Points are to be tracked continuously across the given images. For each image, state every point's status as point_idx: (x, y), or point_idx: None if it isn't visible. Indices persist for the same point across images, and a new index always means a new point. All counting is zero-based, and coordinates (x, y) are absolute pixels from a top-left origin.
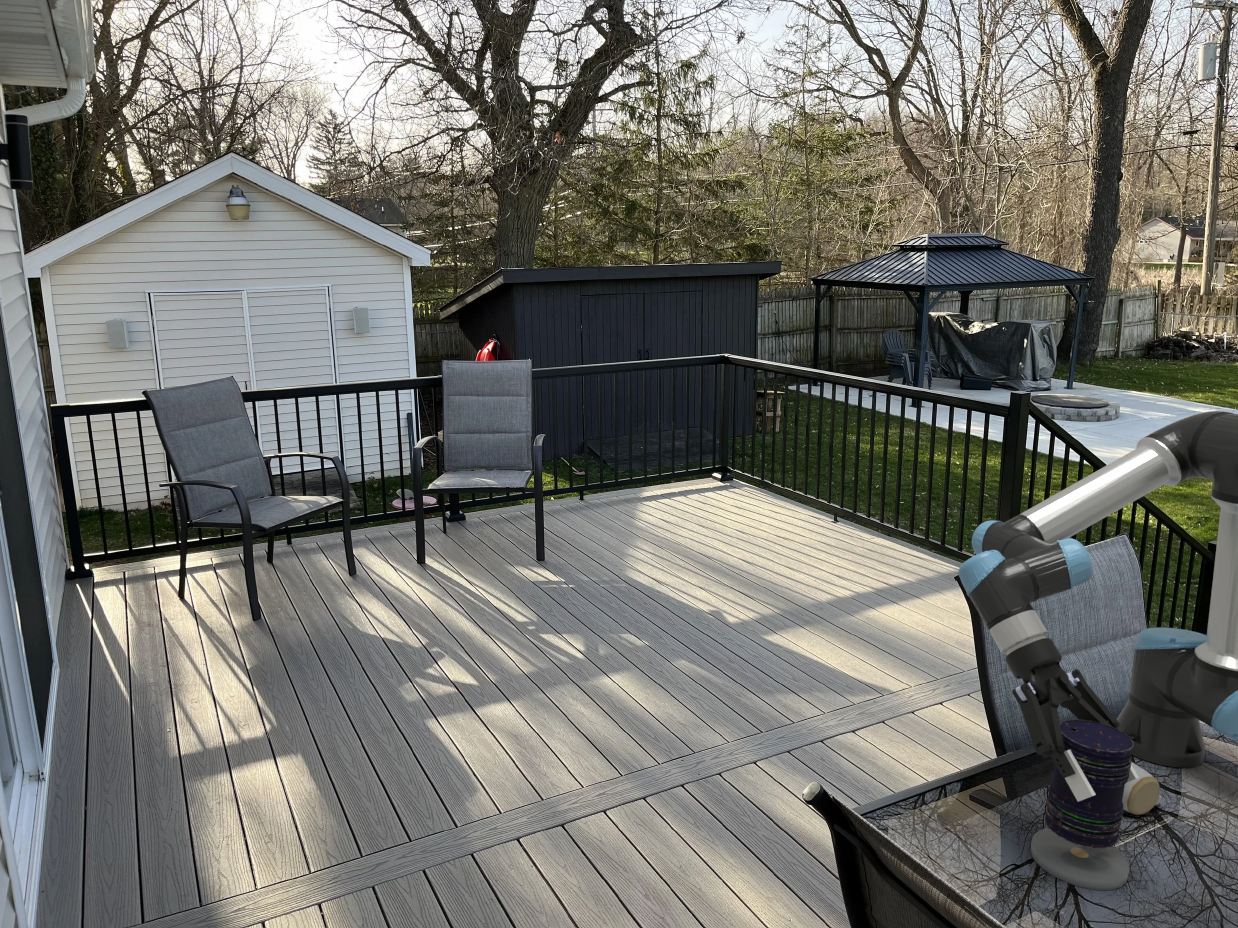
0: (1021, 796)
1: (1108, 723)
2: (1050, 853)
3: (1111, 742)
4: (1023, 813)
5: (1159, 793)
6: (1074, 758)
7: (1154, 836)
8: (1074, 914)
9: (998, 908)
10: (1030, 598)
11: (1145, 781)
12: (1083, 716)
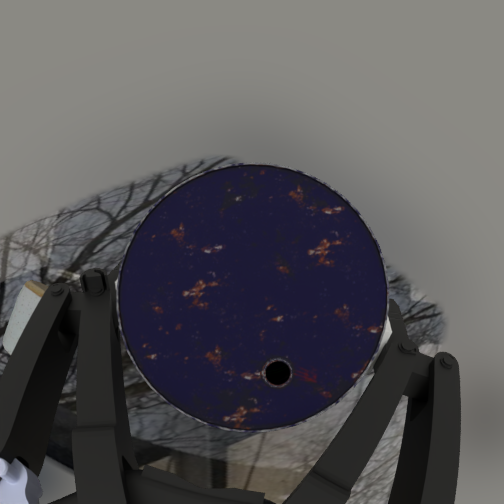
0: (149, 441)
1: (84, 305)
2: None
3: (257, 226)
4: (193, 424)
5: (36, 281)
6: None
7: (104, 269)
8: None
9: (440, 328)
10: None
11: (41, 290)
12: (120, 388)
